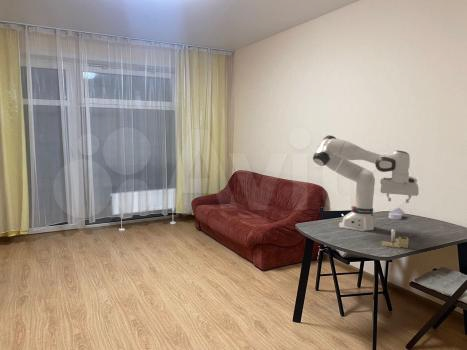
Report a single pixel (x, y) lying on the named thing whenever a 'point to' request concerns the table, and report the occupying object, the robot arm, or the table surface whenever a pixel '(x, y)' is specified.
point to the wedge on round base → (396, 214)
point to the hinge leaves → (397, 243)
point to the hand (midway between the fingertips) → (398, 201)
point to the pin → (393, 235)
